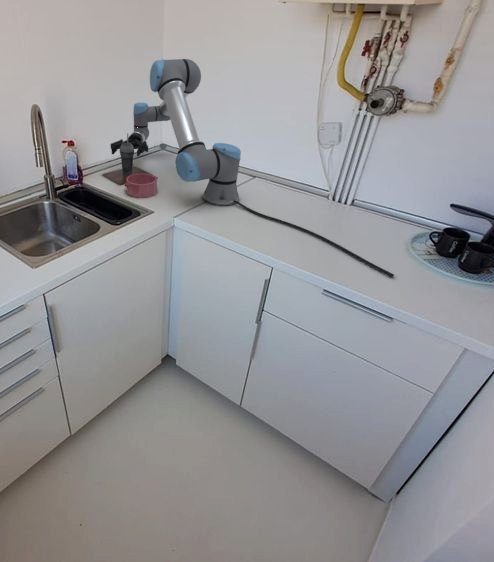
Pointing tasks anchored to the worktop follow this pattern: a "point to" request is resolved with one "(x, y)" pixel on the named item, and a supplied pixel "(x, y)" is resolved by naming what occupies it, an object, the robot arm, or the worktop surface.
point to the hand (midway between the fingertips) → (124, 152)
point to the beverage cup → (127, 157)
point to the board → (119, 177)
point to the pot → (141, 185)
